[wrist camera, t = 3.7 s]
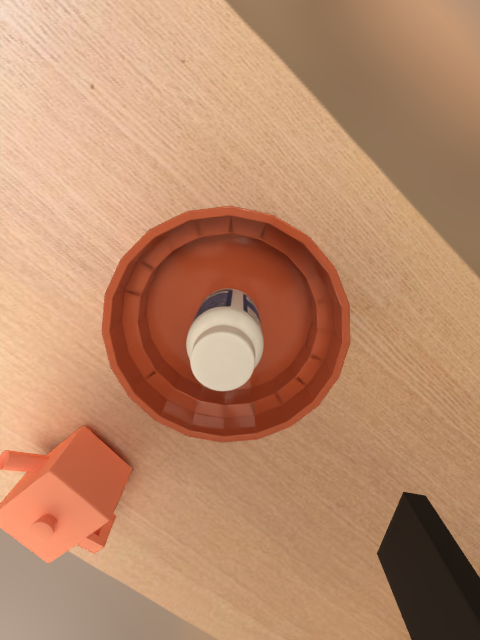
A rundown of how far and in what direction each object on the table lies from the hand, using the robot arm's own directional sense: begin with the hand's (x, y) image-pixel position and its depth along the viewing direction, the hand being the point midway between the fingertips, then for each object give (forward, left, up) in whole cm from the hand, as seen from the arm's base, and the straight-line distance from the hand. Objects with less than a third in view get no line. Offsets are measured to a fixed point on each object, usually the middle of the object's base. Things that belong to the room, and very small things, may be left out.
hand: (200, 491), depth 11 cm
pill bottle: (0, 0, -20) cm, 20 cm away
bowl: (0, 0, -20) cm, 20 cm away
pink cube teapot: (+12, +18, -20) cm, 30 cm away
